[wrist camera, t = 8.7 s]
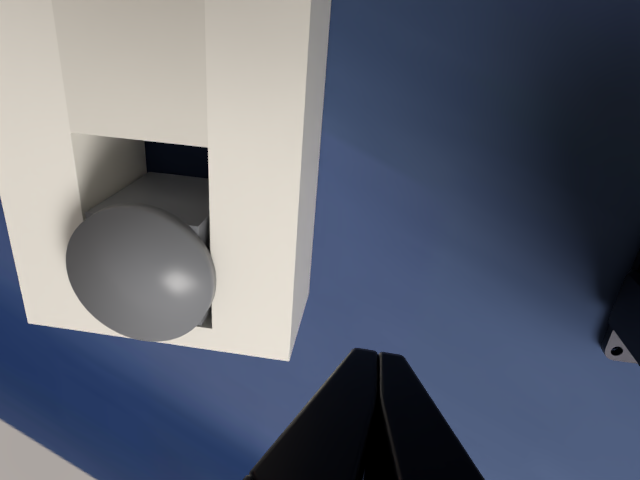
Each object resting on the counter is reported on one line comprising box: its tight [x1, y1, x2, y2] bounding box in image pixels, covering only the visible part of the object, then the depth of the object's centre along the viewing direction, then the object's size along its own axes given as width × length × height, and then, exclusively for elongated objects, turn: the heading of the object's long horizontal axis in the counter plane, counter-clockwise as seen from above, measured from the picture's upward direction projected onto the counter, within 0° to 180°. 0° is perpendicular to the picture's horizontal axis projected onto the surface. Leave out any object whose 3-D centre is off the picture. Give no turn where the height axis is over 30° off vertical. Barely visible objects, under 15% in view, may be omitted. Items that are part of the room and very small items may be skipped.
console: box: [0, 0, 331, 361], centre depth 17 cm, size 11×21×5 cm, turn 176°
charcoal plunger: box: [66, 172, 217, 342], centre depth 19 cm, size 5×5×6 cm
